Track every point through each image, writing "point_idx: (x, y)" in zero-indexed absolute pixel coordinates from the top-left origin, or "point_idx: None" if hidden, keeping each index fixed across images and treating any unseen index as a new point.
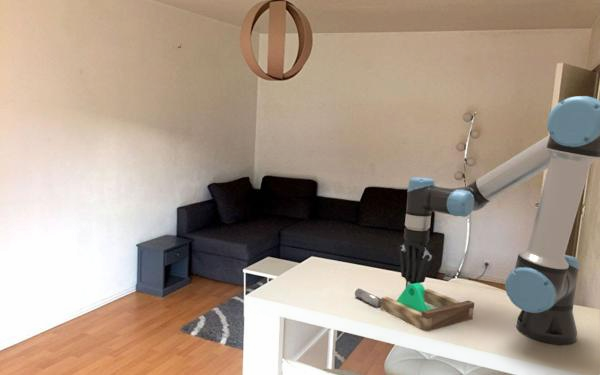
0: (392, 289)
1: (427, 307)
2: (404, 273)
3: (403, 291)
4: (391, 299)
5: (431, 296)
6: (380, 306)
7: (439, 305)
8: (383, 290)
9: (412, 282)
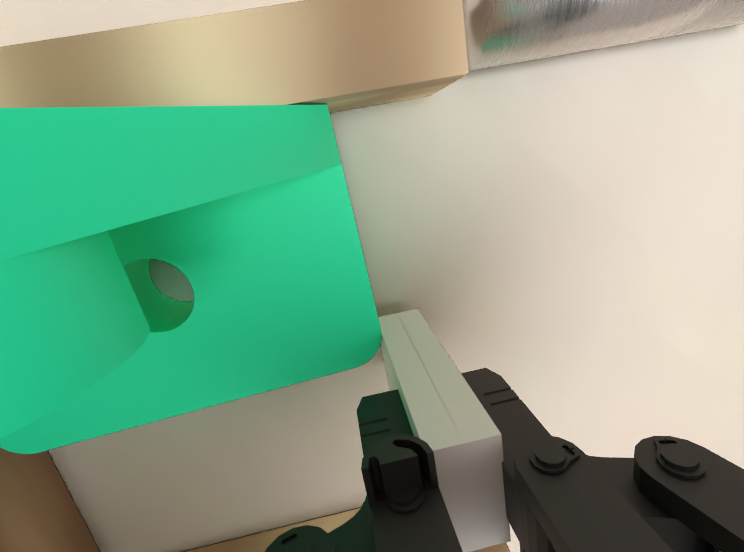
0: (716, 383)
1: (153, 389)
2: (695, 520)
3: (127, 109)
4: (363, 71)
5: None
6: None
7: None
8: (735, 307)
9: (364, 468)
